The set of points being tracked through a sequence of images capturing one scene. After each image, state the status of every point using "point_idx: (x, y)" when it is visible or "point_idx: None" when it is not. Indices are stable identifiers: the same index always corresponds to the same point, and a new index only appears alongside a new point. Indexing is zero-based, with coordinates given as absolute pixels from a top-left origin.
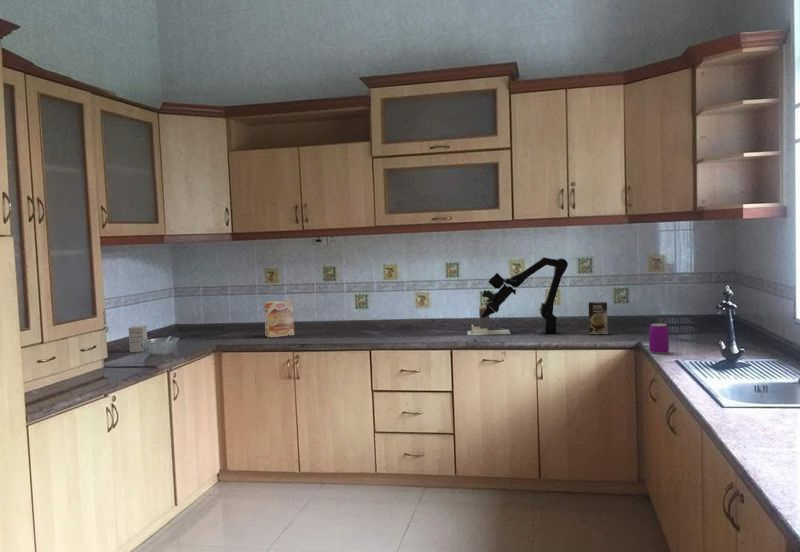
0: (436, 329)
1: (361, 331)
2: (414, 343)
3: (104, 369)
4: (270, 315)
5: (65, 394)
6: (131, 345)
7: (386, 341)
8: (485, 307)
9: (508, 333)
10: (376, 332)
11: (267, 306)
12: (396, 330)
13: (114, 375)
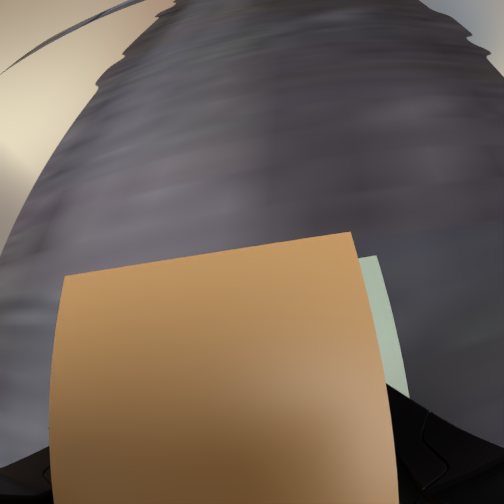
0: (462, 107)
1: (350, 6)
2: (86, 126)
3: (97, 14)
4: None
5: (23, 57)
6: None
7: (159, 62)
8: (53, 469)
9: None
10: (339, 17)
11: None
12: (389, 35)
13: (67, 31)
